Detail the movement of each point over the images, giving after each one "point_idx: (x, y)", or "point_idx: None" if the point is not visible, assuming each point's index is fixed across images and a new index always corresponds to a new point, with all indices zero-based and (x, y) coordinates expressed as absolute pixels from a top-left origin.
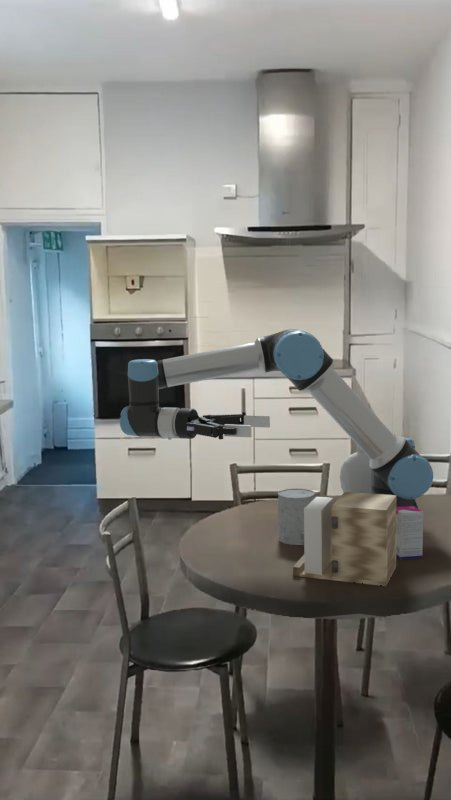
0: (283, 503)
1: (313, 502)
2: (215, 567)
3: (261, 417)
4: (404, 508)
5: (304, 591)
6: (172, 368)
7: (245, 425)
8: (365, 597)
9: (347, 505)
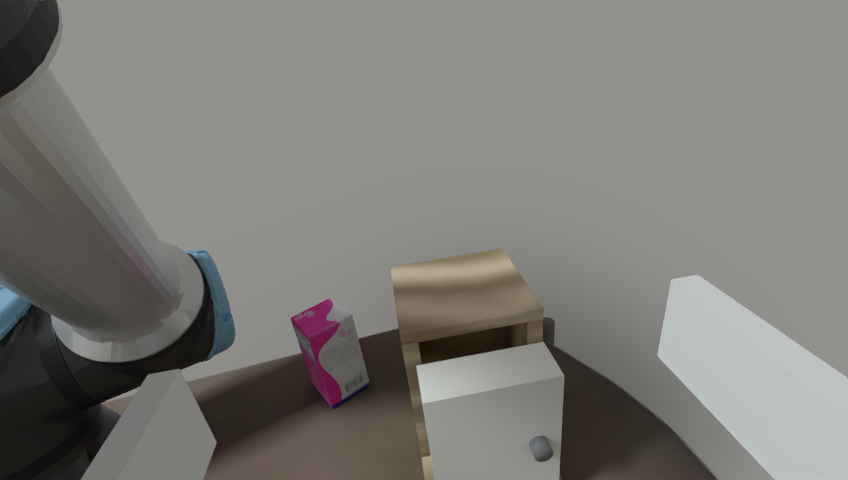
0: None
1: (489, 383)
2: None
3: (149, 441)
4: (316, 320)
5: (635, 455)
6: None
7: (724, 303)
8: (570, 365)
9: (516, 291)
